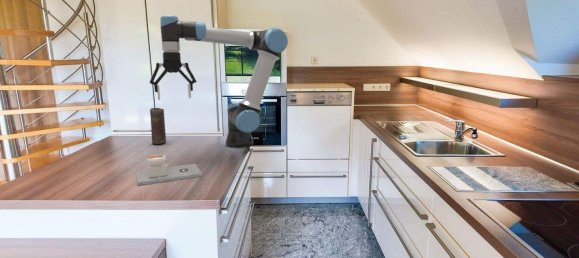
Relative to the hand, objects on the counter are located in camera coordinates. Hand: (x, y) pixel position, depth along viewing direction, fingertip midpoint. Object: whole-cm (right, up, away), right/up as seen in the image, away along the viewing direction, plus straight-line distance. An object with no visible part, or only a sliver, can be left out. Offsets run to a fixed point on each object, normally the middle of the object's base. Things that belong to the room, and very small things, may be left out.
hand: (174, 98), depth 152 cm
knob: (0, -32, -19) cm, 37 cm away
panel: (+4, -33, -17) cm, 37 cm away
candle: (-20, -22, +33) cm, 45 cm away
